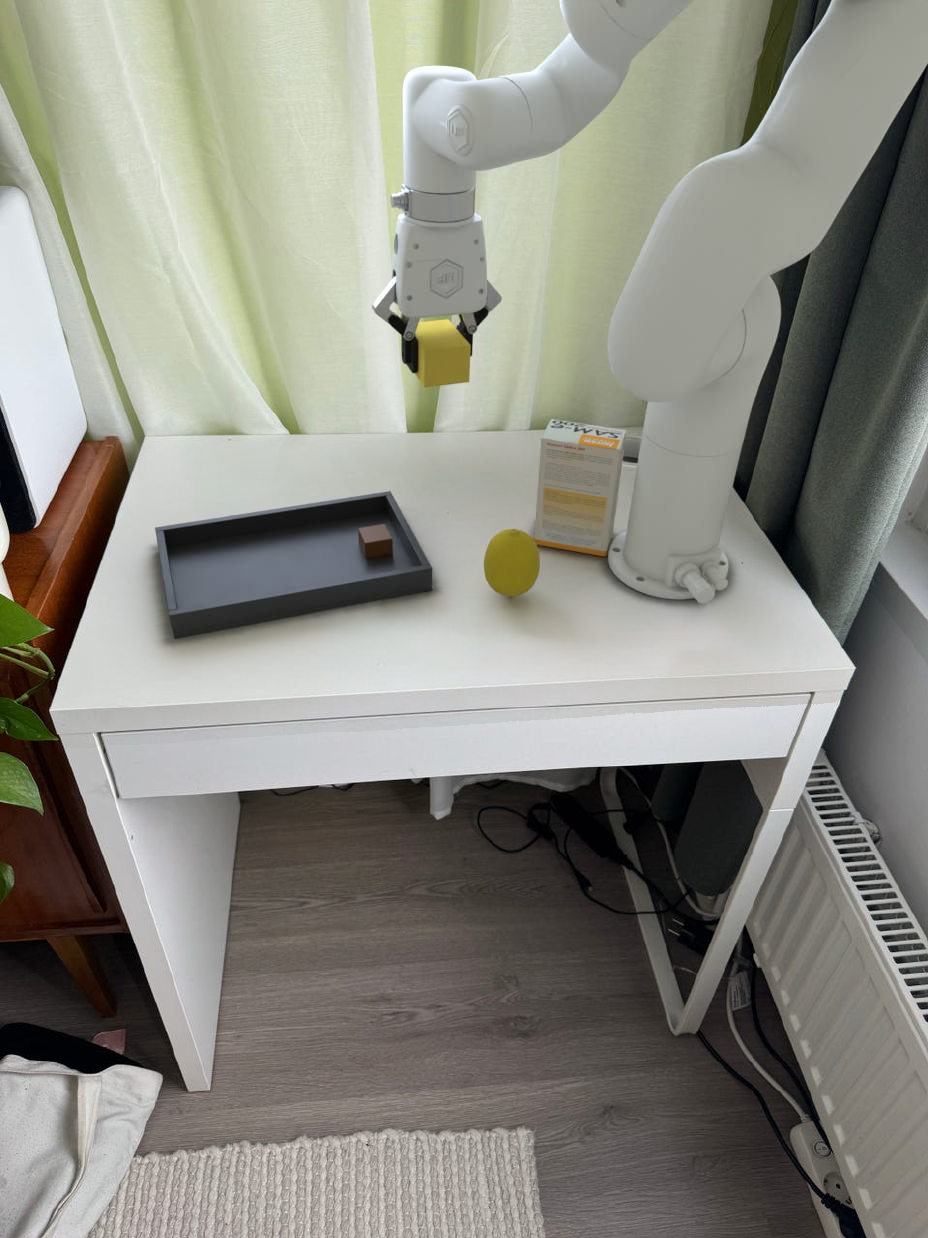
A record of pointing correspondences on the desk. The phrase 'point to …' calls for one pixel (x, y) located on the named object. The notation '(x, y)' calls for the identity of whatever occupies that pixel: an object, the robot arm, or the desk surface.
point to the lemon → (511, 562)
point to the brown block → (375, 541)
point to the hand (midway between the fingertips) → (436, 363)
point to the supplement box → (578, 486)
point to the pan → (285, 563)
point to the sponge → (442, 354)
